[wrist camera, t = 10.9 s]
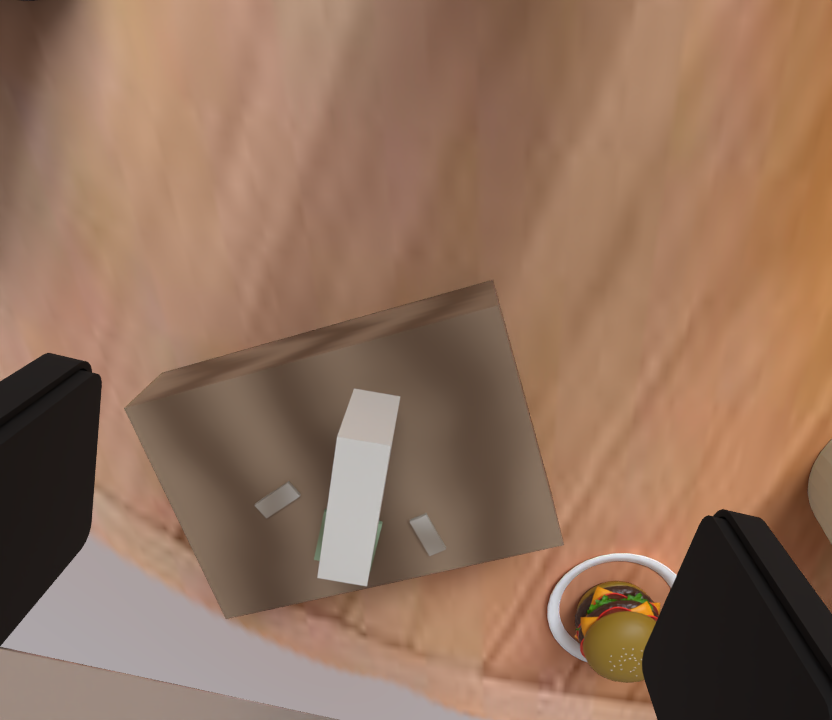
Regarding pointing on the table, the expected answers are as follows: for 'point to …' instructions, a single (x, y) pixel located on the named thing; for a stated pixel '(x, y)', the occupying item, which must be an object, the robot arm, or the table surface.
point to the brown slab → (316, 441)
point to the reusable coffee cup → (822, 489)
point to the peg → (357, 487)
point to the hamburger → (610, 620)
